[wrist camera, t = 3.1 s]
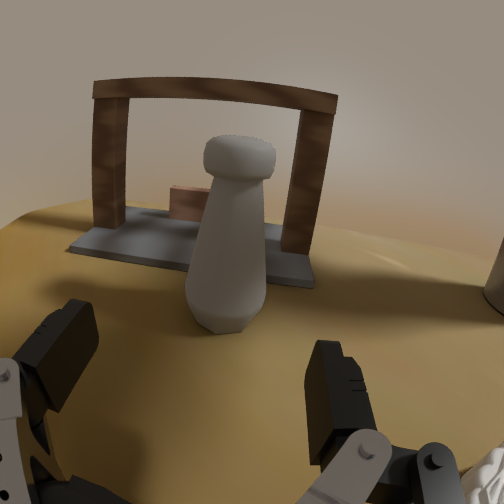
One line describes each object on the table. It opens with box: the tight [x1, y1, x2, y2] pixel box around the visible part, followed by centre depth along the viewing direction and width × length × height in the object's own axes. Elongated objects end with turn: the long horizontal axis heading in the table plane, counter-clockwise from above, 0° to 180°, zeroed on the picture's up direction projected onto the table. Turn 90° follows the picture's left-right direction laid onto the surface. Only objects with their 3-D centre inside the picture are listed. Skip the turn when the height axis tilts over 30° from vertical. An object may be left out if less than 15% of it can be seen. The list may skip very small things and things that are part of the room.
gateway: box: [70, 77, 338, 288], centre depth 31 cm, size 25×14×18 cm, turn 86°
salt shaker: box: [185, 135, 276, 334], centre depth 20 cm, size 6×6×13 cm
